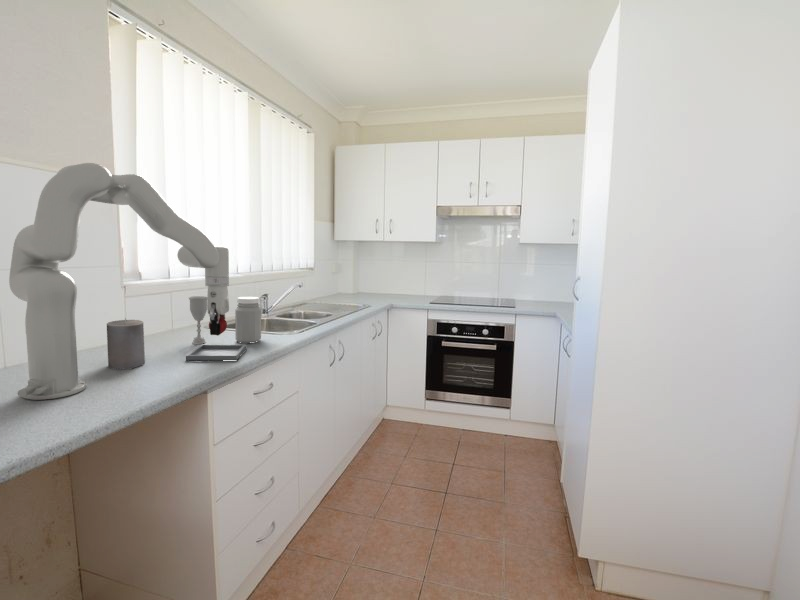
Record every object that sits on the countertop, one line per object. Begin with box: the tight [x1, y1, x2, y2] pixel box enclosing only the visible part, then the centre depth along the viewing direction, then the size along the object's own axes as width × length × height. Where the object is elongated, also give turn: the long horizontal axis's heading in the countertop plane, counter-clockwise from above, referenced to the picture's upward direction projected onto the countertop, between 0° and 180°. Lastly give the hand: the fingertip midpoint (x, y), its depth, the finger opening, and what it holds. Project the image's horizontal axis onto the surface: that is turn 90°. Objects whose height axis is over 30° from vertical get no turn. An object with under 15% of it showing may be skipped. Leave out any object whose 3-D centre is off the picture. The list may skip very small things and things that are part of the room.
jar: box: [234, 295, 262, 344], centre depth 167 cm, size 10×10×18 cm
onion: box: [208, 313, 228, 336], centre depth 144 cm, size 6×6×8 cm
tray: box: [185, 343, 247, 362], centre depth 145 cm, size 16×16×2 cm
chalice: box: [188, 295, 208, 345], centre depth 161 cm, size 7×7×18 cm
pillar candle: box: [106, 317, 146, 370], centre depth 129 cm, size 10×10×15 cm
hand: (217, 332), depth 144 cm, fingers closed on onion, 5 cm apart
